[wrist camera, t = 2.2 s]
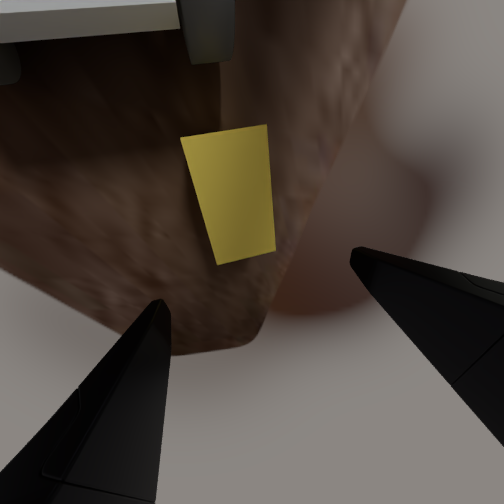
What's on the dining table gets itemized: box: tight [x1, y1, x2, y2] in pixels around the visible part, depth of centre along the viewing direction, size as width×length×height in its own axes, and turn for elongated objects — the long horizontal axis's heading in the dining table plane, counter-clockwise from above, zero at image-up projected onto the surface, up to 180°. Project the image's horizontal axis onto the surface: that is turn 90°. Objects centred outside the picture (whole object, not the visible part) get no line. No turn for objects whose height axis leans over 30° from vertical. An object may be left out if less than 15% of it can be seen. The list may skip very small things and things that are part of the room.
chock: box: [180, 124, 276, 265], centre depth 14 cm, size 4×8×5 cm, turn 8°
